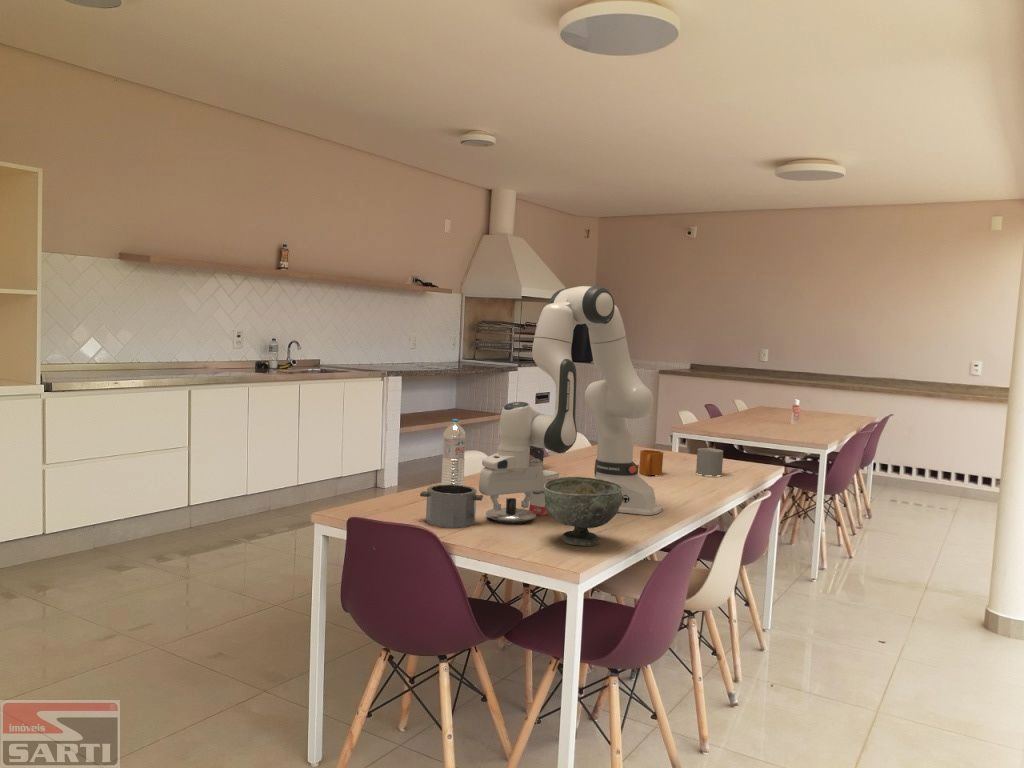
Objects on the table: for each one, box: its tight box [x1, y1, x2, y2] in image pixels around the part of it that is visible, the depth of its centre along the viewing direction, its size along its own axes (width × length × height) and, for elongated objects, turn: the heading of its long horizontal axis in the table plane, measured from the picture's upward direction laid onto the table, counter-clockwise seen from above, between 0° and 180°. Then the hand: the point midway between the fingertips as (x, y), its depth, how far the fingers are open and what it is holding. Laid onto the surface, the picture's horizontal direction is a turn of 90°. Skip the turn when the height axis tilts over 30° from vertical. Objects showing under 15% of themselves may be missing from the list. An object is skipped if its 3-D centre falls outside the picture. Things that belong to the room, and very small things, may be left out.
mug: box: [638, 449, 664, 477], centre depth 307 cm, size 9×12×9 cm
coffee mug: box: [695, 447, 724, 476], centre depth 314 cm, size 13×10×10 cm
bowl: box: [544, 476, 623, 547], centre depth 201 cm, size 20×19×15 cm
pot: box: [419, 484, 484, 529], centre depth 215 cm, size 17×13×9 cm
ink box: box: [528, 469, 560, 516], centre depth 232 cm, size 9×5×12 cm, turn 148°
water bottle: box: [440, 418, 467, 486], centre depth 243 cm, size 7×7×25 cm
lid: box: [485, 497, 537, 524], centre depth 222 cm, size 14×14×6 cm
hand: (511, 508), depth 222 cm, fingers open, 8 cm apart
